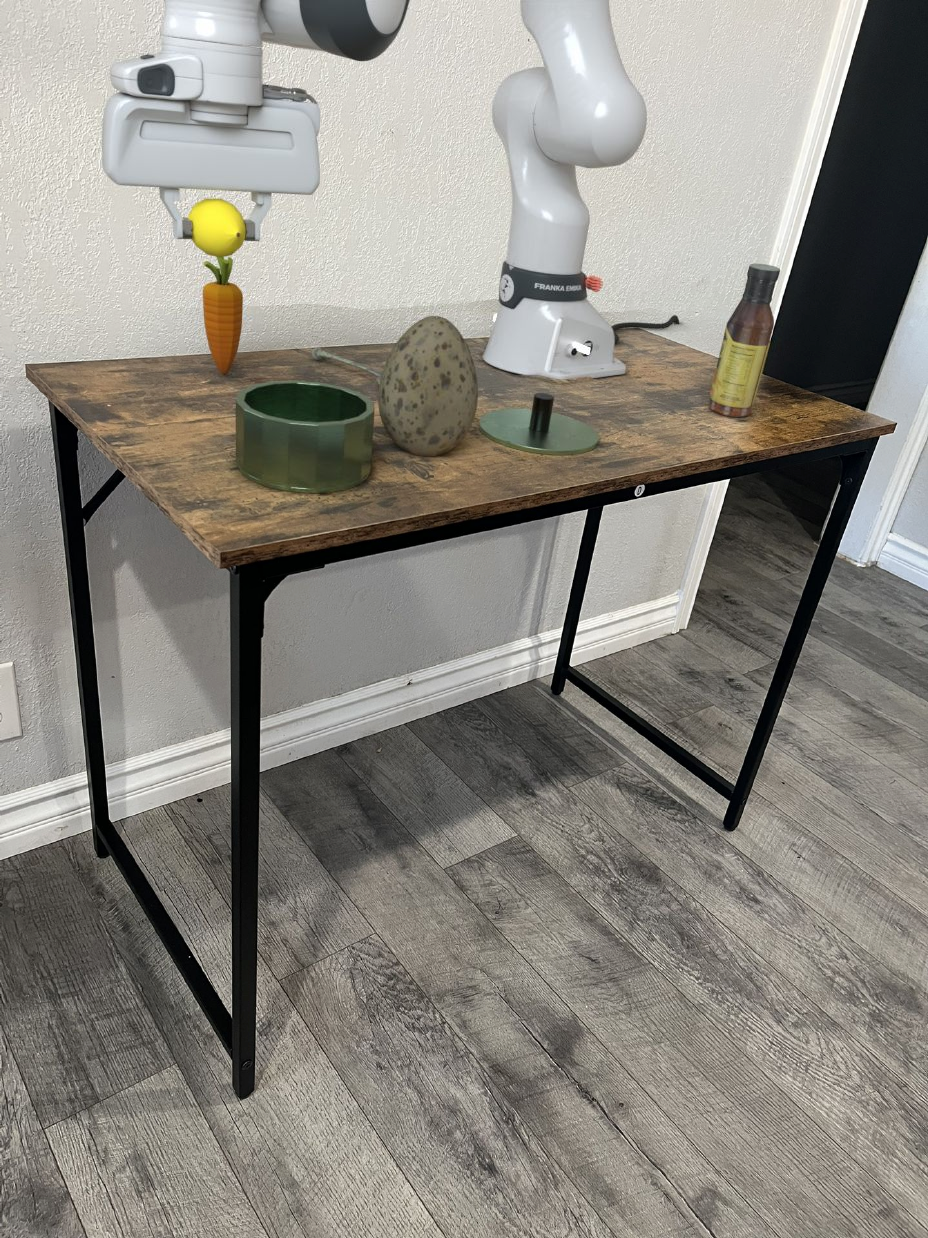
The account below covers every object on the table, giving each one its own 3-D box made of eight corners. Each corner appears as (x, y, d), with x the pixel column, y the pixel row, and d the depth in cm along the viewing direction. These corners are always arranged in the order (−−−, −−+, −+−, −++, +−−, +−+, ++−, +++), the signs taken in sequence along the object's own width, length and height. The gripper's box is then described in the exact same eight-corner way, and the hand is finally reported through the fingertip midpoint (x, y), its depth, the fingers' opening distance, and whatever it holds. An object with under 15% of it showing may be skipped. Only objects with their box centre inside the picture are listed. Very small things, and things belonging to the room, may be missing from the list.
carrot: (238, 382, 120) (238, 257, 112) (199, 377, 120) (196, 252, 112) (246, 371, 124) (247, 251, 117) (209, 366, 124) (206, 246, 116)
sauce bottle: (721, 402, 138) (758, 259, 128) (758, 415, 134) (799, 269, 124) (696, 408, 134) (733, 261, 124) (735, 422, 130) (775, 271, 120)
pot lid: (554, 414, 124) (560, 375, 121) (621, 455, 113) (629, 412, 110) (456, 420, 117) (461, 379, 114) (518, 464, 106) (524, 419, 103)
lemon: (175, 250, 94) (172, 191, 92) (222, 248, 98) (221, 192, 95) (213, 265, 90) (212, 204, 88) (261, 262, 94) (261, 204, 91)
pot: (340, 439, 106) (343, 378, 103) (391, 486, 96) (396, 420, 93) (220, 448, 100) (219, 383, 96) (261, 498, 90) (262, 428, 86)
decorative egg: (468, 442, 111) (485, 311, 103) (471, 476, 101) (490, 335, 94) (376, 432, 110) (386, 299, 102) (371, 466, 100) (381, 322, 93)
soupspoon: (401, 414, 119) (439, 409, 123) (405, 387, 117) (443, 383, 121) (297, 360, 131) (335, 357, 135) (299, 335, 129) (337, 333, 134)
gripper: (309, 87, 93) (305, 235, 100) (91, 64, 84) (103, 229, 91) (332, 92, 89) (327, 247, 96) (104, 68, 79) (117, 242, 86)
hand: (216, 239), depth 93 cm, fingers closed on lemon, 5 cm apart
